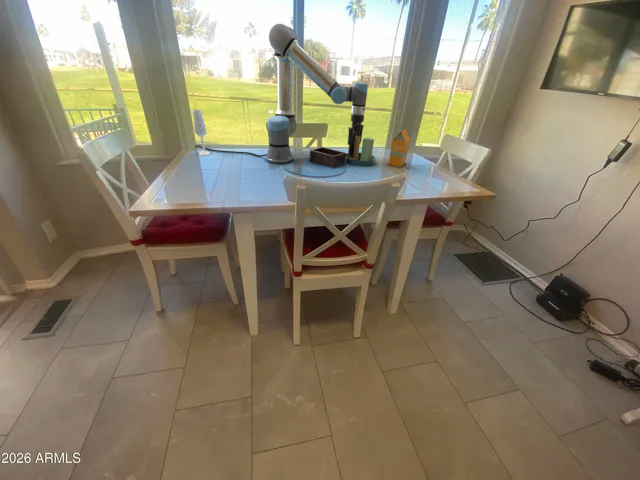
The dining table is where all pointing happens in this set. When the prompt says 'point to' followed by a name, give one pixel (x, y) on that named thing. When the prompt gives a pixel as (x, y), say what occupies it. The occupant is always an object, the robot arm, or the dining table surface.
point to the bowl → (358, 162)
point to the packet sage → (367, 149)
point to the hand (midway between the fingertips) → (353, 155)
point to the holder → (327, 157)
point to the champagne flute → (199, 128)
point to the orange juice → (399, 149)
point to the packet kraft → (355, 148)
